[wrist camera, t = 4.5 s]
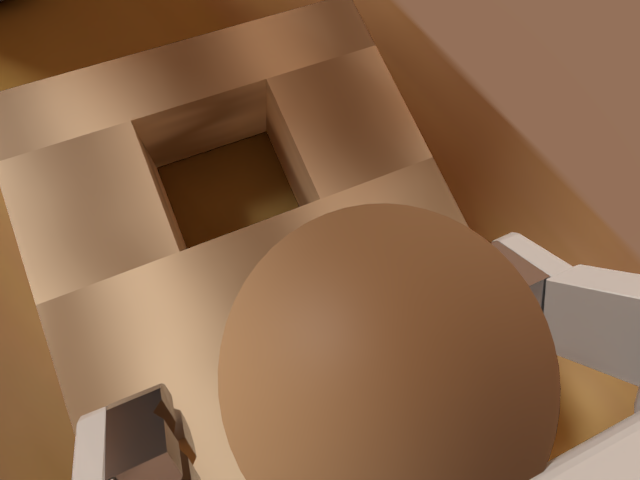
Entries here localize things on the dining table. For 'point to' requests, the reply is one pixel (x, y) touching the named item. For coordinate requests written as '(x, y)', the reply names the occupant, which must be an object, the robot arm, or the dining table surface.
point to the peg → (387, 355)
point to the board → (155, 209)
